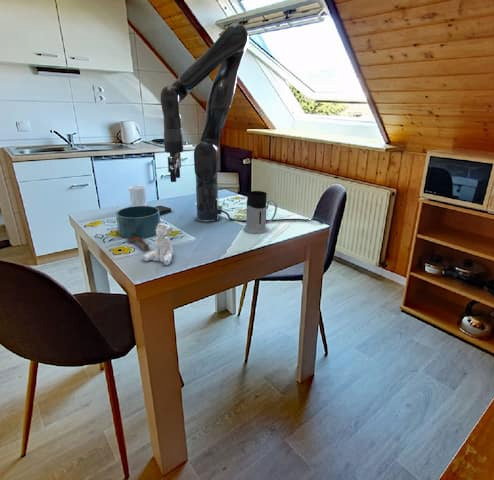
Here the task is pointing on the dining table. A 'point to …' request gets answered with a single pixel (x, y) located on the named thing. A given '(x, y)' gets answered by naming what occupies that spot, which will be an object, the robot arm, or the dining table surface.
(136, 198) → the white cup
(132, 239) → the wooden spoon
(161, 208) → the smart home device
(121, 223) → the cooking pot
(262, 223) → the travel mug
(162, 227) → the seated beast figurine
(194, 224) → the dining table surface
